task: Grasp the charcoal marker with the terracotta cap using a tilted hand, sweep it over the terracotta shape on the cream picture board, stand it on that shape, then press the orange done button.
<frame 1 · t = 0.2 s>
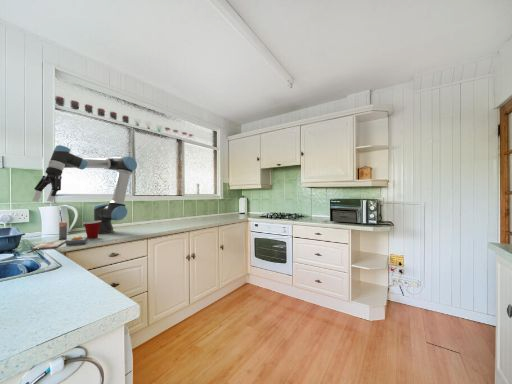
hand: (42, 201, 132), 27 cm above the worktop, tool tilted 15°, fingers open, 13 cm apart
plastic cup: (92, 238, 158), on the worktop
marker: (62, 239, 153), on the worktop
button housing: (77, 243, 141), on the worktop
picture board: (50, 245, 135), on the worktop
done button: (77, 238, 141), point 3 cm above the worktop, slide at 0.0 cm
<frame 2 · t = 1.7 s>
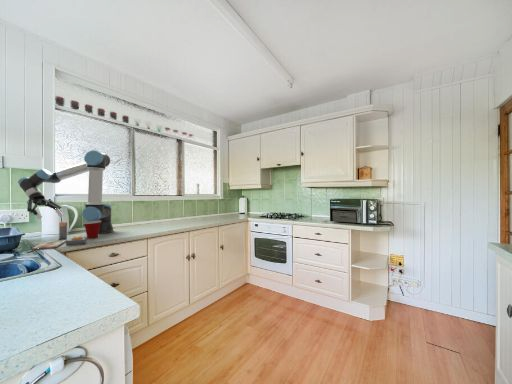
hand: (51, 216, 155), 15 cm above the worktop, tool tilted 45°, fingers open, 13 cm apart
nothing on the worktop moved.
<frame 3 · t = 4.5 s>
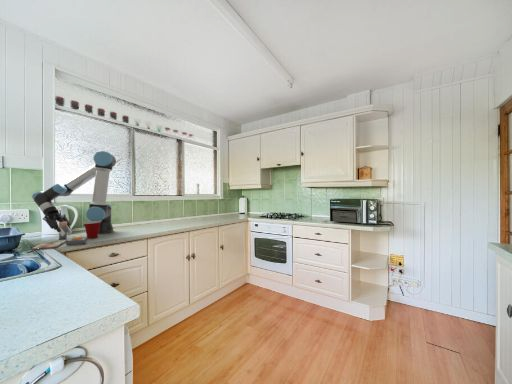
hand: (67, 234, 152), 4 cm above the worktop, tool tilted 45°, fingers closed on marker, 4 cm apart
marker: (62, 239, 153), on the worktop, touching gripper
everything else where it was.
when the fingers open (6 cm above the worktop, at t = 10.0 s): marker drops 1 cm, resting on picture board.
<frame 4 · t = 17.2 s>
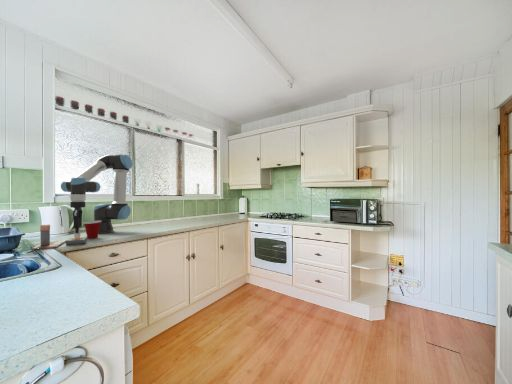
hand: (77, 237, 141), 4 cm above the worktop, tool pointing down, fingers closed
marker: (45, 245, 130), point 1 cm above the worktop, touching picture board
done button: (77, 239, 141), point 2 cm above the worktop, slide at 0.9 cm, touching gripper
everything else where it was.
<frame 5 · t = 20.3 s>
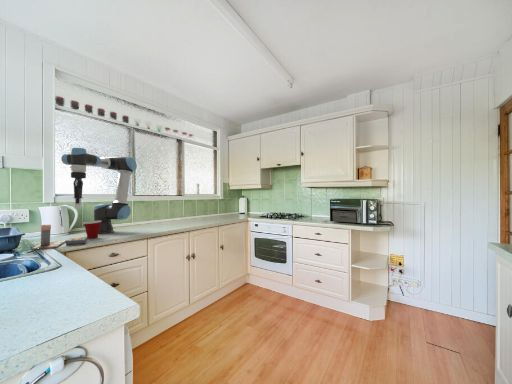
hand: (77, 208, 141), 22 cm above the worktop, tool pointing down, fingers closed
done button: (77, 240, 141), point 2 cm above the worktop, slide at 1.0 cm
everything else where it was.
at the end: marker inside the target area (1.1 cm from its centre), point 1.3 cm above the worktop; marker tilted 3°; done button slide at 1.0 cm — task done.
